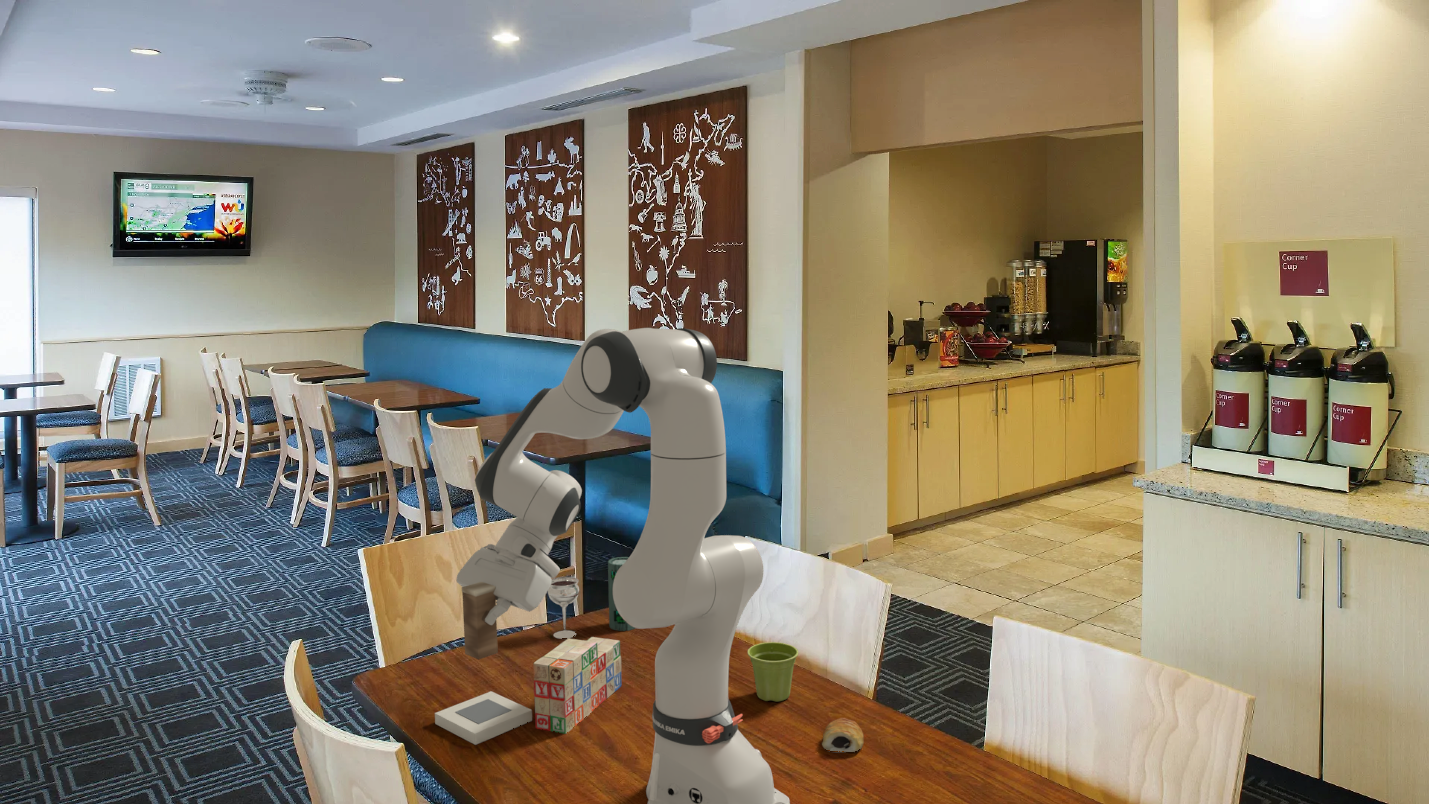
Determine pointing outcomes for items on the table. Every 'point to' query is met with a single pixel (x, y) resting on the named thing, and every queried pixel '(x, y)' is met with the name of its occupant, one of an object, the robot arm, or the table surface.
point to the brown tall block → (479, 620)
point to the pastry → (843, 736)
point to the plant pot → (773, 669)
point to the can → (614, 617)
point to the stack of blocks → (574, 681)
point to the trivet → (483, 717)
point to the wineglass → (564, 599)
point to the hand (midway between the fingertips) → (477, 619)
